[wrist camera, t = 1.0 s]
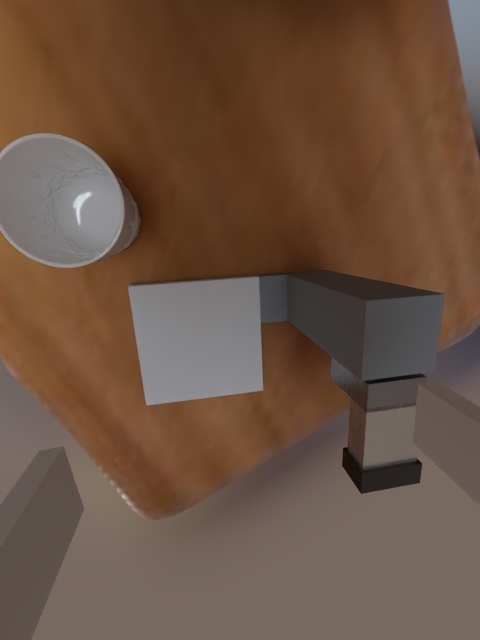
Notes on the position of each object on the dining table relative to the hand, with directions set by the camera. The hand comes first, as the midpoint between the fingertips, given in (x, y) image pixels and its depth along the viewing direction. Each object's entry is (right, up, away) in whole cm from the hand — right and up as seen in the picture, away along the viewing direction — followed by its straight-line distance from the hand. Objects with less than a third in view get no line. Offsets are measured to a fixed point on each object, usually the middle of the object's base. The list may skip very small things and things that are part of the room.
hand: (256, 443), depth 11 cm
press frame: (-1, +3, +22) cm, 22 cm away
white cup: (-14, +14, +17) cm, 26 cm away
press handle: (+9, -2, +13) cm, 16 cm away
